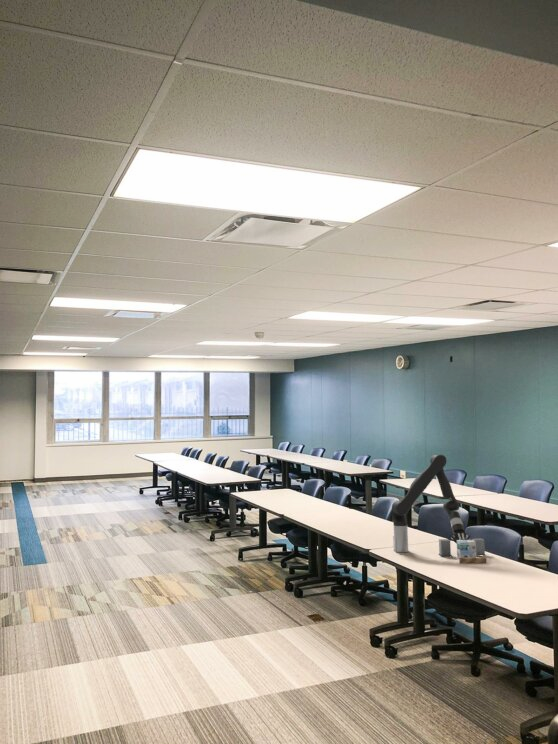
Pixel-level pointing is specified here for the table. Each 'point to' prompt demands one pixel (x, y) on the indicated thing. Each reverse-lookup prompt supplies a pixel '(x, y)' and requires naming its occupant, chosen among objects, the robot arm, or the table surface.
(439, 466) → the robot arm
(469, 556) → the light bulb box
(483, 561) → the walnut stop
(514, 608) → the table surface
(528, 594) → the table surface
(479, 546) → the block
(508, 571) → the table surface
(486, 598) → the table surface
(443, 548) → the block
